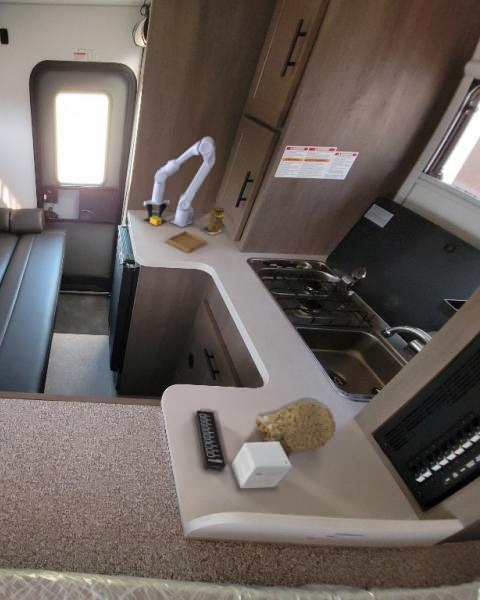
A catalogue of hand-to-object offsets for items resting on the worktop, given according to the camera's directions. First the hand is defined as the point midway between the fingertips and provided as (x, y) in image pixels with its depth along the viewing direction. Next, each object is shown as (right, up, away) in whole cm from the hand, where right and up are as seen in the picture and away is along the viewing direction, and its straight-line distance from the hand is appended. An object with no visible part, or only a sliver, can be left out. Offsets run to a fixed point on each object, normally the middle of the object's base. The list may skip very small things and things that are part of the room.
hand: (154, 216), depth 186 cm
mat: (0, -3, -1) cm, 3 cm away
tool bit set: (-10, -83, -103) cm, 133 cm away
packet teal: (0, -1, +1) cm, 1 cm away
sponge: (+13, -82, -101) cm, 131 cm away
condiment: (+29, -10, -10) cm, 32 cm away
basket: (+11, -19, -21) cm, 30 cm away
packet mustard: (0, -5, -4) cm, 6 cm away
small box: (-2, -89, -109) cm, 141 cm away
